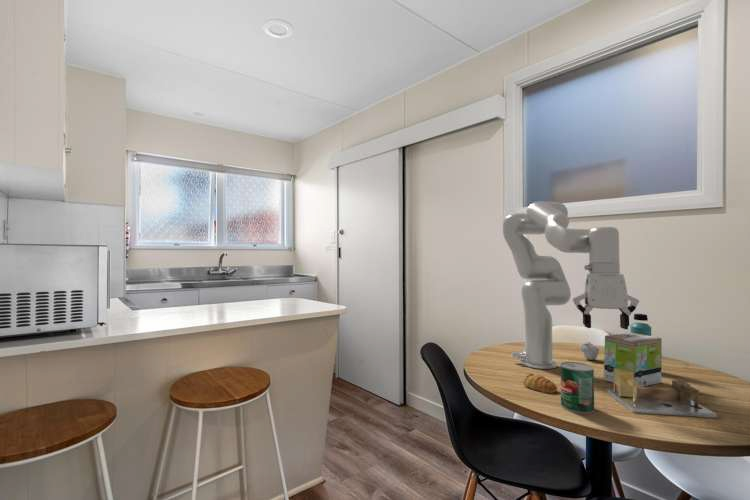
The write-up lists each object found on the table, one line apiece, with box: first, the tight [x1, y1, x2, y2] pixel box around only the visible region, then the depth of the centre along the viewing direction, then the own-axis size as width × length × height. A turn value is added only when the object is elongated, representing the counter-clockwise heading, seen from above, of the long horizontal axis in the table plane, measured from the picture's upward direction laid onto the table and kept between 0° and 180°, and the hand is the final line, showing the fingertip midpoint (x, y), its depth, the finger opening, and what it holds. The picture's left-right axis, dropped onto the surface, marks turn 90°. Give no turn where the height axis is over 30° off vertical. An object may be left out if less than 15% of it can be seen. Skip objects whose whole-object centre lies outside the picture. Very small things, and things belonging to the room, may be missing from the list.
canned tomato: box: [559, 361, 595, 415], centre depth 98 cm, size 8×8×11 cm
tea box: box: [603, 332, 663, 387], centre depth 120 cm, size 15×10×15 cm, turn 117°
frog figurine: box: [579, 341, 600, 361], centre depth 146 cm, size 6×7×7 cm
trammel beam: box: [616, 379, 700, 407], centre depth 101 cm, size 17×8×4 cm, turn 81°
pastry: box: [523, 373, 558, 394], centre depth 112 cm, size 9×7×4 cm
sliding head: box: [613, 368, 638, 403], centre depth 102 cm, size 4×8×7 cm, turn 171°
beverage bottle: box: [629, 313, 652, 336], centre depth 133 cm, size 6×7×20 cm
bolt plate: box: [607, 389, 718, 419], centre depth 100 cm, size 19×14×1 cm
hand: (605, 328), depth 107 cm, fingers open, 9 cm apart
